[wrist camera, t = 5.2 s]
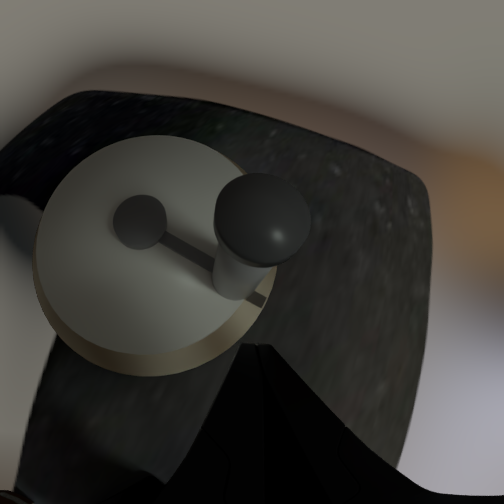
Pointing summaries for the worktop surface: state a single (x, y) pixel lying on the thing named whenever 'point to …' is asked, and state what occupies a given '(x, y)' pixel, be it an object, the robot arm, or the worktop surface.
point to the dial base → (169, 360)
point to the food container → (13, 498)
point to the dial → (162, 242)
